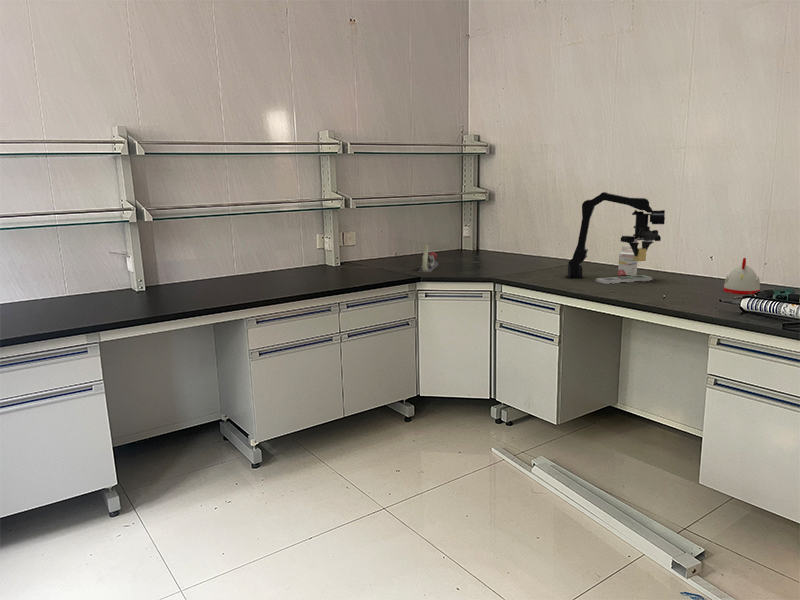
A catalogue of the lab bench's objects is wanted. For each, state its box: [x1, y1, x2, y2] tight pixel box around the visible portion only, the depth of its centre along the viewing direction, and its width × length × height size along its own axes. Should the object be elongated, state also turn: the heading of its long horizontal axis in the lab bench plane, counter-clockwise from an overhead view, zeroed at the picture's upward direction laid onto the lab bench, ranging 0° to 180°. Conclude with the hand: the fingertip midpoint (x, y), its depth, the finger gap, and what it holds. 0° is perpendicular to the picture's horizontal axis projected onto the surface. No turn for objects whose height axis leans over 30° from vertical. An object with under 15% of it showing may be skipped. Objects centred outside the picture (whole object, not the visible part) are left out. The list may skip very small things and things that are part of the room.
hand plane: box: [418, 244, 440, 273], centre depth 346 cm, size 7×31×15 cm, turn 167°
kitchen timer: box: [723, 257, 761, 295], centre depth 261 cm, size 14×14×15 cm
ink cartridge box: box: [617, 246, 639, 276], centre depth 307 cm, size 9×5×15 cm, turn 56°
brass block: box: [634, 247, 647, 262], centre depth 292 cm, size 4×4×6 cm
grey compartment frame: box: [595, 274, 653, 285], centre depth 293 cm, size 26×8×2 cm, turn 102°
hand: (639, 255), depth 292 cm, fingers closed on brass block, 4 cm apart
